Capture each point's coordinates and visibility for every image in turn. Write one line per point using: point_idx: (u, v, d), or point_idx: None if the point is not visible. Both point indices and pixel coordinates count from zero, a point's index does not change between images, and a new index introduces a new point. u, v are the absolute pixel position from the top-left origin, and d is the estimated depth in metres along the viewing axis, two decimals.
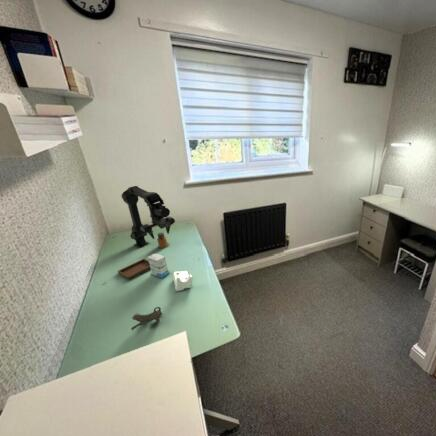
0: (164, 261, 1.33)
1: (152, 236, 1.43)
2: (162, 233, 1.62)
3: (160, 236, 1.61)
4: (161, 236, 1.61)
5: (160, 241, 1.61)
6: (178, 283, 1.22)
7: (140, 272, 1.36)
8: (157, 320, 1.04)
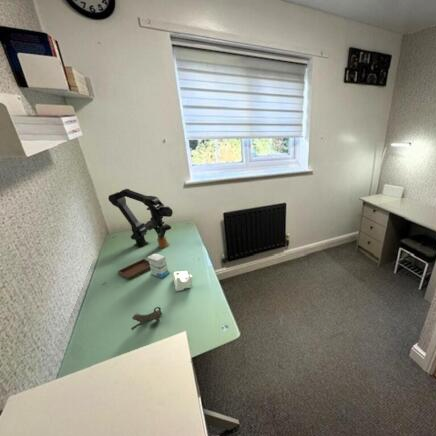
0: (164, 261, 1.33)
1: (156, 232, 1.62)
2: None
3: (160, 236, 1.61)
4: (161, 236, 1.61)
5: (160, 241, 1.61)
6: (178, 283, 1.22)
7: (140, 272, 1.36)
8: (157, 320, 1.04)
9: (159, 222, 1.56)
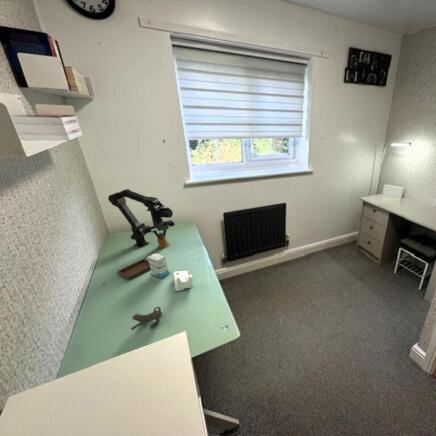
0: (164, 261, 1.33)
1: None
2: (161, 233, 1.63)
3: (163, 235, 1.62)
4: None
5: (160, 241, 1.61)
6: (178, 283, 1.22)
7: (140, 272, 1.36)
8: (157, 320, 1.04)
9: None
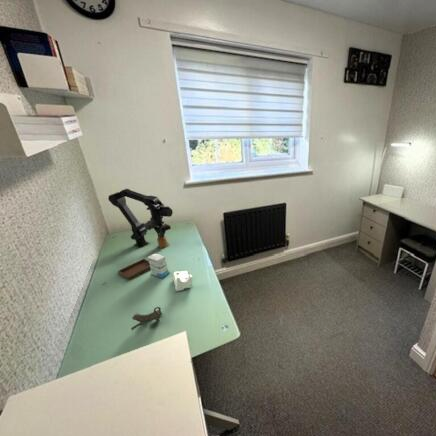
0: (164, 261, 1.33)
1: None
2: (159, 233, 1.62)
3: None
4: None
5: (160, 241, 1.61)
6: (178, 283, 1.22)
7: (140, 272, 1.36)
8: (157, 320, 1.04)
9: (159, 222, 1.56)
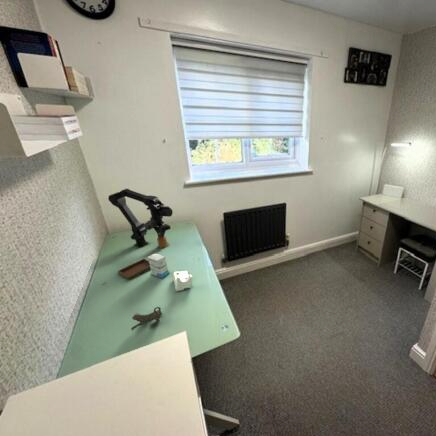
0: (164, 261, 1.33)
1: None
2: (159, 234, 1.61)
3: None
4: None
5: (160, 241, 1.61)
6: (178, 283, 1.22)
7: (140, 272, 1.36)
8: (157, 320, 1.04)
9: (159, 222, 1.56)
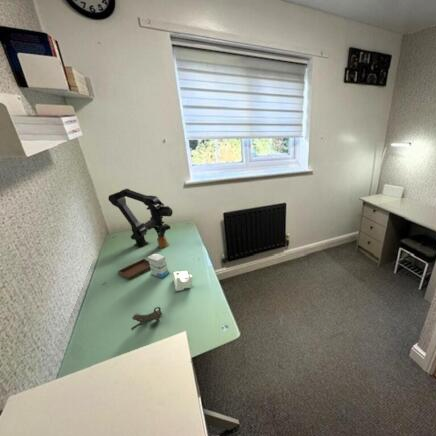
0: (164, 261, 1.33)
1: None
2: None
3: None
4: (158, 236, 1.61)
5: (160, 241, 1.61)
6: (178, 283, 1.22)
7: (140, 272, 1.36)
8: (157, 320, 1.04)
9: (159, 222, 1.56)
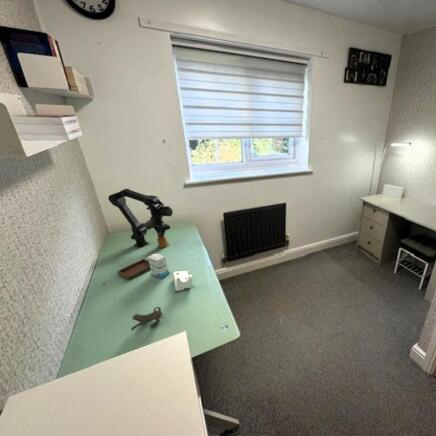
0: (164, 261, 1.33)
1: None
2: None
3: (160, 235, 1.61)
4: None
5: (160, 241, 1.61)
6: (178, 283, 1.22)
7: (140, 272, 1.36)
8: (157, 320, 1.04)
9: (159, 222, 1.56)
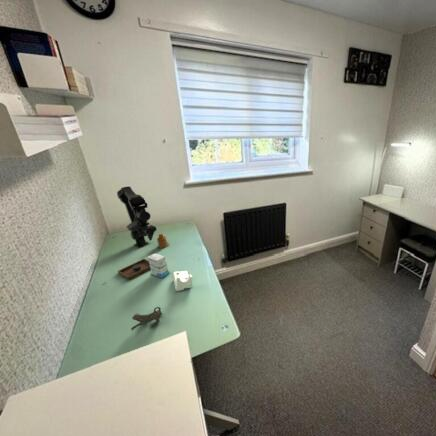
0: (164, 261, 1.33)
1: (139, 233, 1.52)
2: (138, 265, 1.40)
3: (136, 269, 1.38)
4: (138, 269, 1.38)
5: (160, 241, 1.61)
6: (178, 283, 1.22)
7: (140, 272, 1.36)
8: (157, 320, 1.04)
9: (143, 223, 1.45)
